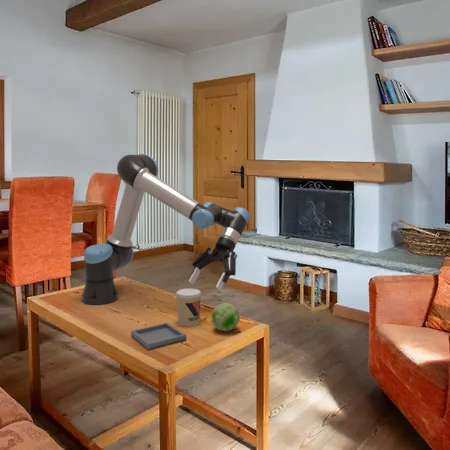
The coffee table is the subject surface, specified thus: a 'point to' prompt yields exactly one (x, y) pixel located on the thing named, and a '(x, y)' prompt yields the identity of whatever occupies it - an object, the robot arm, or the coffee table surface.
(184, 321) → the coffee cup
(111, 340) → the coffee table surface
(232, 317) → the decorative ball
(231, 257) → the robot arm
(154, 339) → the tray
